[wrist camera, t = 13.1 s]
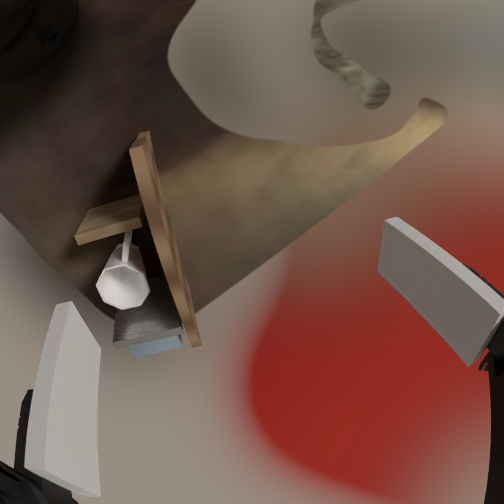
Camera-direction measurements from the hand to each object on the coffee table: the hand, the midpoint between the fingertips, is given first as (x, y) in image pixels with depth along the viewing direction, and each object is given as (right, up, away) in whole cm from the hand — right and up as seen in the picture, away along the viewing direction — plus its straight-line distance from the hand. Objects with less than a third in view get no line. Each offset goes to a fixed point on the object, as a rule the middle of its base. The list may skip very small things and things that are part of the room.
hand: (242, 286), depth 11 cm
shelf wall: (-11, +6, +28) cm, 30 cm away
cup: (-17, +2, +28) cm, 33 cm away
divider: (-18, +7, +24) cm, 31 cm away
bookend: (-16, -3, +31) cm, 35 cm away
